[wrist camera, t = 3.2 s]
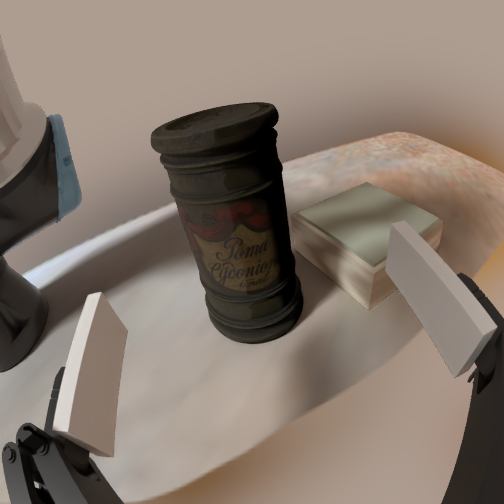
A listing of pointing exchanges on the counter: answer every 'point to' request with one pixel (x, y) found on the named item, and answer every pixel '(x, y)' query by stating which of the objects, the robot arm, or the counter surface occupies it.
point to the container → (235, 216)
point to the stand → (359, 238)
